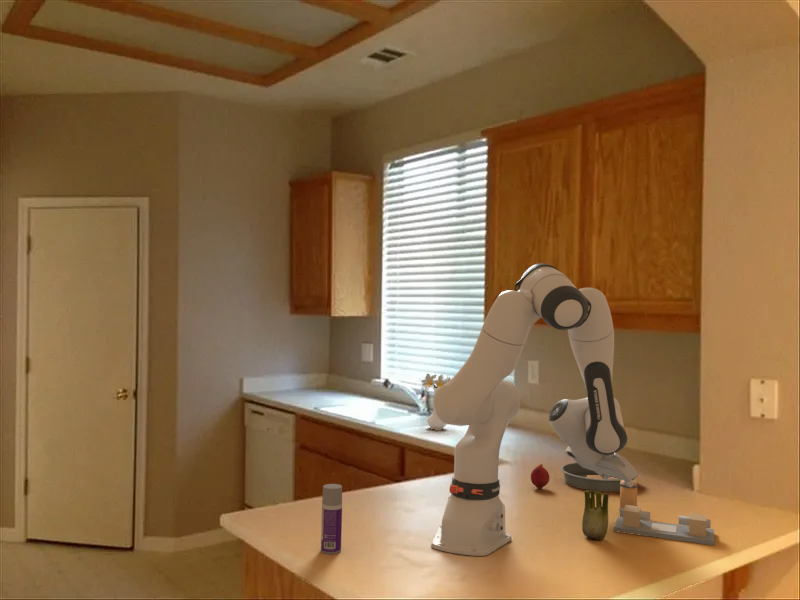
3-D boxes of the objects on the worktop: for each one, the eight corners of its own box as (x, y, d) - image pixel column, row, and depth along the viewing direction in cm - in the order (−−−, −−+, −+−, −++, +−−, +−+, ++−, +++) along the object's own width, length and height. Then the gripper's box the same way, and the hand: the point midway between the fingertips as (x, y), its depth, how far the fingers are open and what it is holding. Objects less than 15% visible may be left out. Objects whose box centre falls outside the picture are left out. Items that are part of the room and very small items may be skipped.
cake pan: (546, 476, 248) (547, 463, 248) (610, 473, 254) (610, 460, 254) (584, 495, 224) (584, 481, 224) (653, 491, 231) (653, 477, 231)
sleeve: (636, 516, 202) (637, 484, 202) (618, 514, 204) (619, 482, 204) (637, 512, 206) (638, 480, 206) (620, 510, 208) (620, 478, 208)
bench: (714, 545, 179) (715, 524, 179) (614, 531, 188) (614, 511, 188) (713, 533, 188) (714, 513, 188) (617, 521, 197) (618, 501, 197)
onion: (540, 492, 225) (541, 466, 225) (526, 488, 230) (527, 463, 230) (552, 489, 229) (553, 464, 229) (538, 485, 233) (539, 460, 233)
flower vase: (452, 433, 322) (454, 377, 322) (414, 429, 330) (415, 374, 330) (462, 429, 334) (463, 374, 334) (425, 425, 342) (426, 372, 342)
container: (345, 550, 169) (346, 486, 169) (330, 555, 165) (332, 489, 165) (331, 545, 172) (333, 482, 172) (316, 550, 168) (318, 486, 168)
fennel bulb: (609, 540, 182) (611, 492, 182) (597, 543, 178) (599, 495, 178) (590, 533, 186) (591, 487, 186) (578, 537, 183) (579, 489, 183)
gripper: (623, 446, 189) (652, 480, 193) (573, 433, 207) (600, 465, 211) (610, 464, 187) (639, 499, 191) (561, 450, 205) (588, 482, 209)
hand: (618, 481), depth 201 cm, fingers open, 8 cm apart
